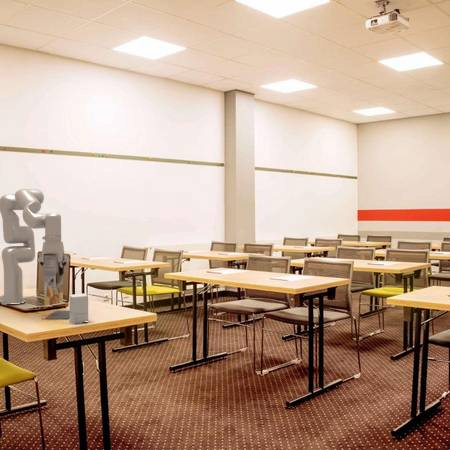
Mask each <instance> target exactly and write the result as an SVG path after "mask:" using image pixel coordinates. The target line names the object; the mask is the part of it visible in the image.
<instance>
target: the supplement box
mask: <svg viewBox="0 0 450 450" xmlns="http://www.w3.org/2000/svg"><path fill="white" fill-rule="evenodd" d="M68 297H69V310H70V318H69V322H70V321H71V322H72V323H77V324H79V323H78V322H85V321H88V322H89V296H88V295H87V294H86V293H76V294H69V295H68ZM71 322H70V323H71ZM72 323H71V324H72Z"/></svg>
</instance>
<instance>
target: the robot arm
mask: <svg viewBox="0 0 450 450" xmlns="http://www.w3.org/2000/svg"><path fill="white" fill-rule="evenodd" d="M44 201H45V196H44V193H43V192H42V191H41V190H40V189H36V188H21V189H18V190H17V191H16V192H15V193H14V194H4V195H2V196H1V197H0V216H1V218H2V231H3V233H2V235H3V241H4V243H6V244H10V246H7V247H5V248H3V249H2V251H1V259H2V266H3V267H2V268H3V294H2V295H0V301H1V302H0V304H1V305H4V306H7V305H6V304H11V303H22V302H26V303H27V301H26V299H24V298H23V291H24V289H23V288H24V285H23V283H24V282H23V269H22V268H21V266H20V265H19V264H24V263H30V262H33V261H34V260H35V258H36V244H35V242H36V241H35V234H34V233H35V232H34V229H35V230H36V229H37V230H38V229H44V236H42V238H41V239H42V240H43V243H42V249H41V255H40V256H39V257H38V258H37V259H36V261H37V262H38V263H39V264H40V265H41V266H42V268H44V254H58V262H59V265H60V268H59V275H60V276H61V275H63V276H64V274H65V272H64V267H65V266H66V265H67V264H68V263H69V262H70V261H71V259H70V258H69V257H68V256H67V255H66V254H65V247H64V241H62V216H61V215H60V213H59V214H58V213H49V212H48V213H43V212H42V213H39V212H40V211H41V208H42V205H43V203H44ZM15 211H22V219H23V222H24V223H25V224H26V225H20V218H19V216H18V214H17V212H15ZM11 244H12V245H11ZM13 244H23V245H13Z"/></svg>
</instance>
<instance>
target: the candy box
mask: <svg viewBox="0 0 450 450" xmlns="http://www.w3.org/2000/svg"><path fill="white" fill-rule="evenodd" d="M43 288H44V289H43V292H44V294H43V297H44V299H43V301H44V303H43V306H44V305H52V304H58V303H63V304H64V302H63V301H64V300H63V299H64V297H63V296H64V295H63V294H64V290H63V289H64V283H63V284H62V285H59V286H57V287H44V286H43Z"/></svg>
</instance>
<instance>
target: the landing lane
mask: <svg viewBox="0 0 450 450" xmlns="http://www.w3.org/2000/svg"><path fill="white" fill-rule="evenodd" d="M41 320H70V309H69V310H60V309H59V310H53V311H51V312H50V313H47V315H46V316H43V317H42V318H41Z"/></svg>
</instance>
